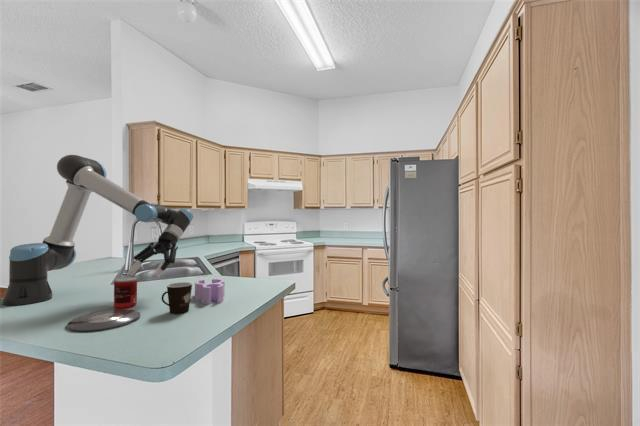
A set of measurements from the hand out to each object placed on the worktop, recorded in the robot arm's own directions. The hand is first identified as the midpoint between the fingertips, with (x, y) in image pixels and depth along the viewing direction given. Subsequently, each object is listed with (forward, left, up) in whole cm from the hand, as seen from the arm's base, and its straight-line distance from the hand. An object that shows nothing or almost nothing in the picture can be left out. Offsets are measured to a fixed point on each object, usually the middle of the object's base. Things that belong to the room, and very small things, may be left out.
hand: (142, 275), depth 128 cm
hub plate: (+8, -22, -11) cm, 26 cm away
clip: (+22, +15, -12) cm, 29 cm away
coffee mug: (+23, -7, -11) cm, 27 cm away
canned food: (-1, -7, -11) cm, 13 cm away
